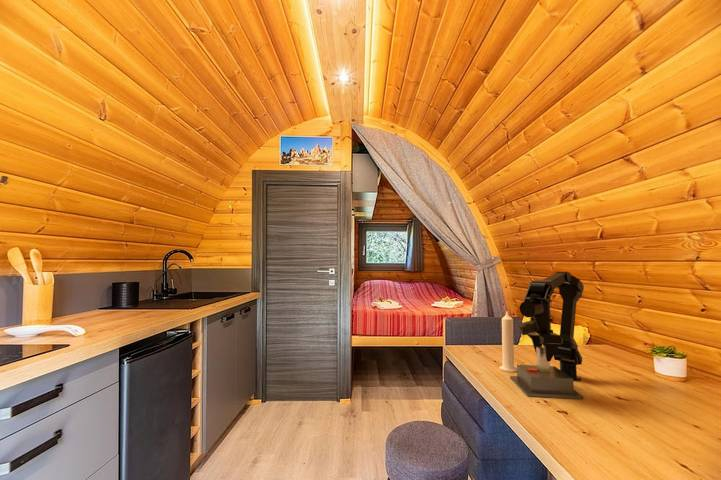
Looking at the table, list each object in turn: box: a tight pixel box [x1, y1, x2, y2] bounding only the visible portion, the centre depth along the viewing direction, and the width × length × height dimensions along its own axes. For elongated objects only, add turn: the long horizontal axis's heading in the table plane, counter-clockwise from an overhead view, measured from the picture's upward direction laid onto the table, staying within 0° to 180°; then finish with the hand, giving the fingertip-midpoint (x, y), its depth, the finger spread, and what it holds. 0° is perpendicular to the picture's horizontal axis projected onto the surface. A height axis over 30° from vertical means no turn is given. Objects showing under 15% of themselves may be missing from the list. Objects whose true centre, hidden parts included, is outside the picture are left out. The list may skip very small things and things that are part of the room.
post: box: [535, 346, 551, 373], centre depth 123 cm, size 3×3×9 cm
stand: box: [509, 364, 584, 400], centre depth 123 cm, size 18×18×7 cm
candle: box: [499, 310, 517, 373], centre depth 145 cm, size 7×7×25 cm
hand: (542, 357), depth 123 cm, fingers open, 9 cm apart
